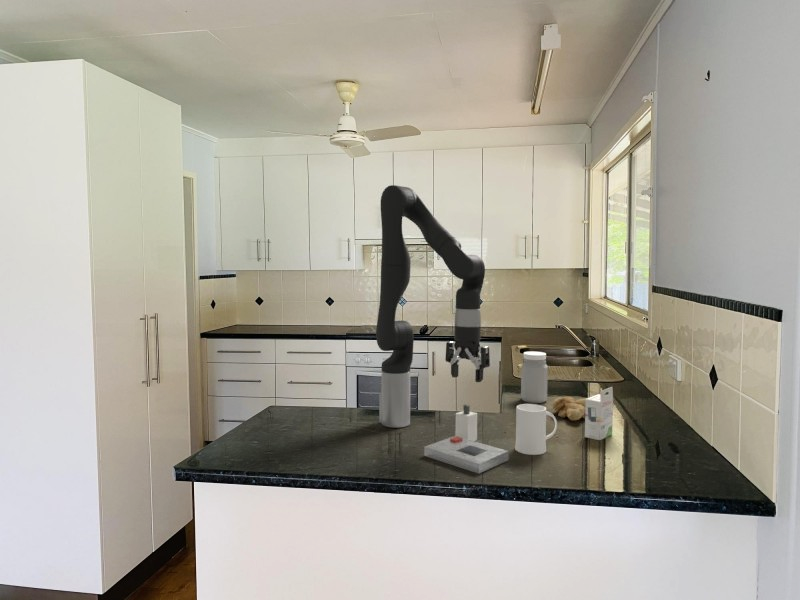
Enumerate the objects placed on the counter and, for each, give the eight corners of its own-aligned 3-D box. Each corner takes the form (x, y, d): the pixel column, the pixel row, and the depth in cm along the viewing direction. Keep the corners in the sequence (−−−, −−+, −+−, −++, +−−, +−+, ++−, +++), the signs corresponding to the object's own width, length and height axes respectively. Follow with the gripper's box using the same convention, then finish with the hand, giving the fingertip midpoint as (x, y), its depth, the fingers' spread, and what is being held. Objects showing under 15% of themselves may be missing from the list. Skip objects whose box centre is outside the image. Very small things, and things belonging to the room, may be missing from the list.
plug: (455, 440, 162) (455, 405, 161) (464, 436, 165) (465, 402, 164) (467, 443, 159) (468, 408, 158) (477, 440, 162) (477, 405, 161)
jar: (552, 401, 207) (553, 353, 206) (534, 405, 202) (535, 356, 200) (532, 396, 215) (533, 350, 214) (515, 399, 210) (515, 352, 208)
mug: (552, 444, 158) (553, 403, 158) (562, 454, 150) (563, 411, 149) (511, 444, 158) (512, 403, 157) (519, 455, 149) (519, 411, 149)
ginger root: (566, 403, 199) (570, 383, 196) (603, 424, 186) (608, 403, 184) (535, 411, 190) (539, 390, 188) (571, 434, 178) (576, 411, 175)
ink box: (597, 431, 171) (598, 383, 170) (612, 434, 167) (614, 386, 166) (583, 437, 165) (584, 388, 164) (599, 441, 161) (600, 391, 160)
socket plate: (424, 455, 149) (424, 444, 149) (454, 444, 158) (454, 433, 158) (479, 473, 136) (479, 461, 136) (508, 460, 146) (508, 448, 145)
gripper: (440, 323, 162) (439, 377, 163) (480, 327, 152) (479, 385, 153) (456, 321, 167) (455, 374, 168) (495, 325, 157) (494, 381, 159)
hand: (466, 379), depth 161 cm, fingers open, 8 cm apart
